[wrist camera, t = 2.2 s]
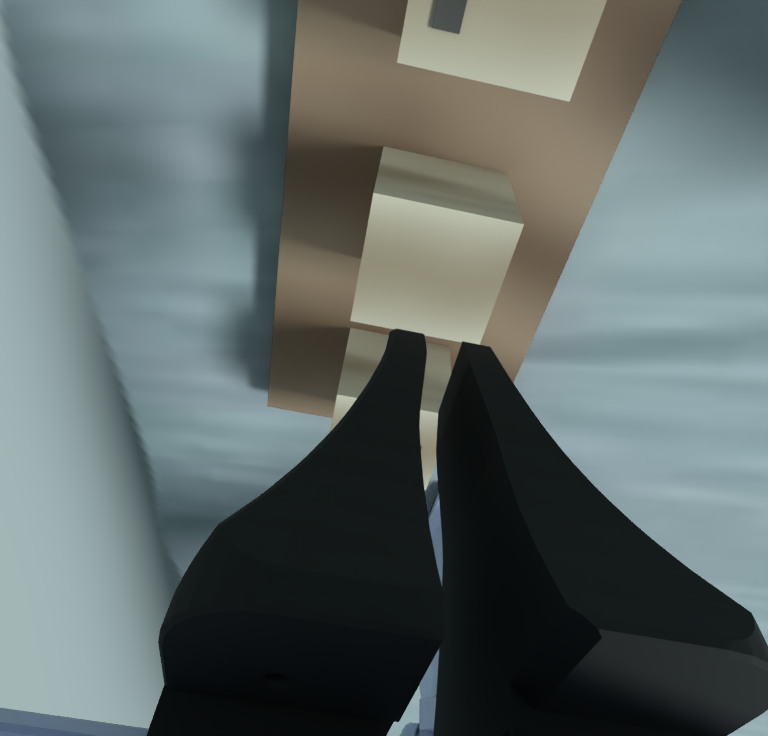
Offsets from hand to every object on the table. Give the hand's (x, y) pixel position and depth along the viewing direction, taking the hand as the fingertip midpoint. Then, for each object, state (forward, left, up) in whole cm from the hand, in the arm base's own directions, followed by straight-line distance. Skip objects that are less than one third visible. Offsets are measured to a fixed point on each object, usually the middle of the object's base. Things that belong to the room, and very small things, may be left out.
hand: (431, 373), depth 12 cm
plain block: (0, 0, -8) cm, 8 cm away
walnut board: (0, 0, -9) cm, 9 cm away
